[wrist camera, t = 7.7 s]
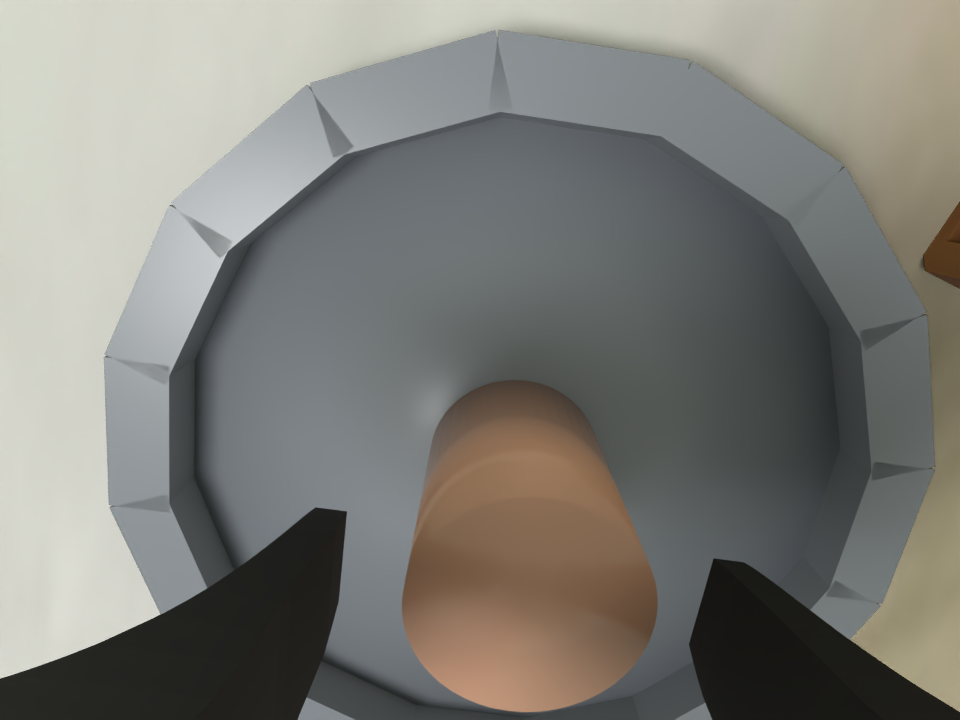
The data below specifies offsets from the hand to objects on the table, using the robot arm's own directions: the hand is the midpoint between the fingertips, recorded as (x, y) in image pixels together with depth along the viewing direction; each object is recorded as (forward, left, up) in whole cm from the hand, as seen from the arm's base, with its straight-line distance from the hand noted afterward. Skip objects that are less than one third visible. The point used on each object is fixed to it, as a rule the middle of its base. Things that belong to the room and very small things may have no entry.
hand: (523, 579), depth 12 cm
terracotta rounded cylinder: (0, 0, -5) cm, 5 cm away
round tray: (0, 0, -6) cm, 6 cm away
